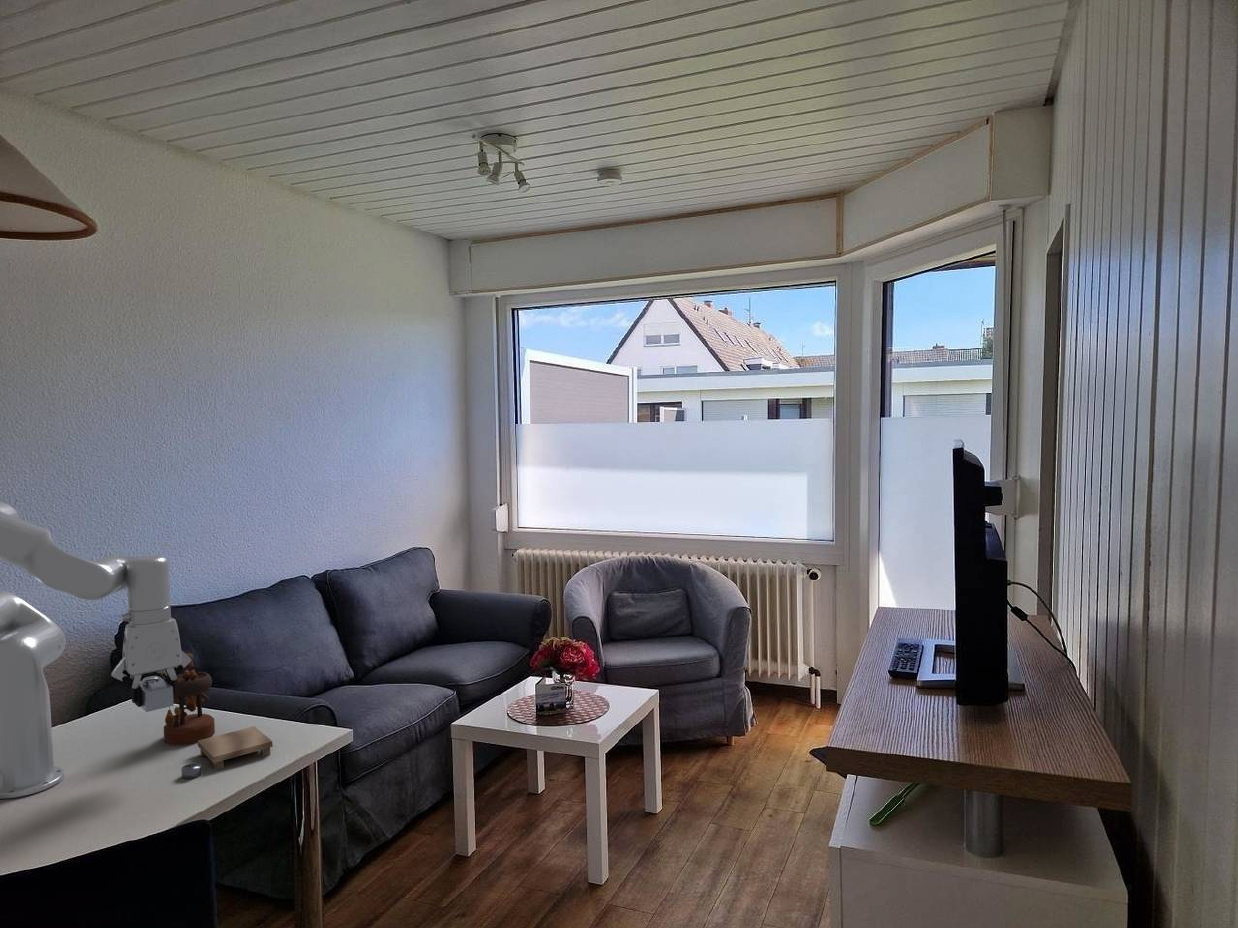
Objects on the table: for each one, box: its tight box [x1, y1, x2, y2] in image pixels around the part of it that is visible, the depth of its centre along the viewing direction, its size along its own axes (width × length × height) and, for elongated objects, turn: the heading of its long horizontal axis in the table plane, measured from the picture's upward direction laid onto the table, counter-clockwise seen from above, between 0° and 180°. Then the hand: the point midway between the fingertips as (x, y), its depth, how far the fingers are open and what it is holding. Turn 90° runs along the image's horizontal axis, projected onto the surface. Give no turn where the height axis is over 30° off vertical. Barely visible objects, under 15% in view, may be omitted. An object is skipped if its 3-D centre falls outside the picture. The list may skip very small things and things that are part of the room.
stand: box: [197, 726, 273, 771], centre depth 177 cm, size 12×12×3 cm
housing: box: [139, 675, 175, 713], centre depth 168 cm, size 5×9×5 cm, turn 44°
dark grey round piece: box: [180, 762, 202, 781], centre depth 167 cm, size 4×4×2 cm
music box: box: [156, 653, 216, 746], centre depth 188 cm, size 15×11×20 cm
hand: (153, 700), depth 168 cm, fingers closed on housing, 5 cm apart
